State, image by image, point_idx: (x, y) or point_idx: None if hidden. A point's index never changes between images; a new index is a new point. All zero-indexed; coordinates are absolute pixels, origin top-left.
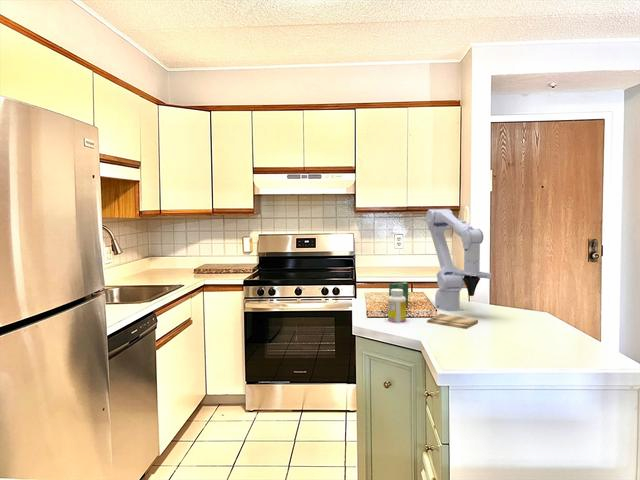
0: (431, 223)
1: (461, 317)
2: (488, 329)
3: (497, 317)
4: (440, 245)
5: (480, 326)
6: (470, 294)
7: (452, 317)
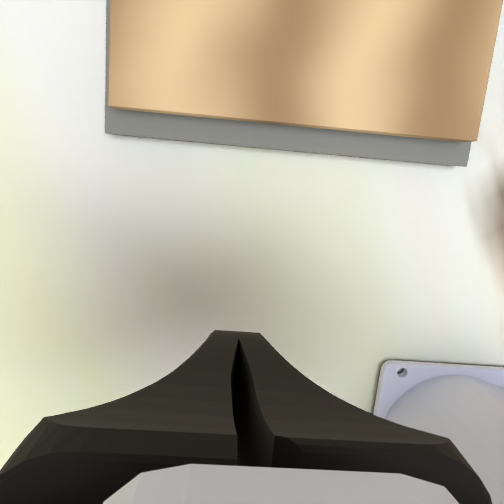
0: None
1: (262, 94)
2: (5, 25)
3: None
4: None
5: (95, 91)
6: (232, 333)
7: (336, 53)
